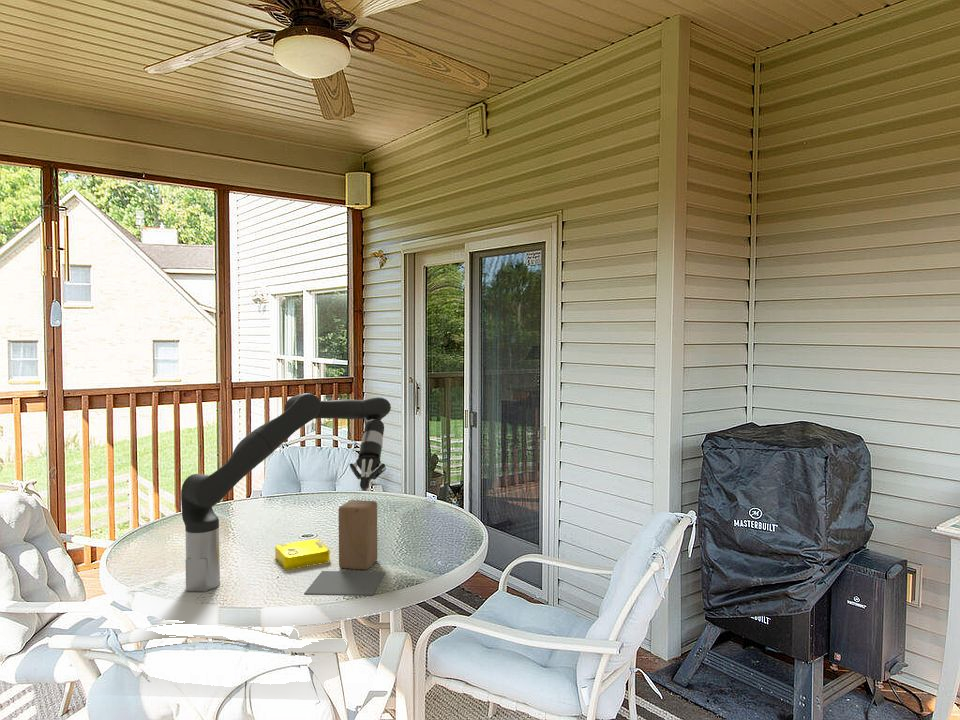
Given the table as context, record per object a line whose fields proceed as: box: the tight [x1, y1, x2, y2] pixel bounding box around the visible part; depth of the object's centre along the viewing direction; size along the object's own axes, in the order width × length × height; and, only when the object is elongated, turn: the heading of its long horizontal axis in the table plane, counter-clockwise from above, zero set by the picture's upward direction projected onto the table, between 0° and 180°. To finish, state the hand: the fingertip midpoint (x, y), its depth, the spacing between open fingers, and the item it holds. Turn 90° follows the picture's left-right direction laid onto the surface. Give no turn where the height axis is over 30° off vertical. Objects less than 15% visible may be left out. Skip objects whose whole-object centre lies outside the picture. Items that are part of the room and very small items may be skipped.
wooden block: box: [337, 499, 378, 571], centre depth 214 cm, size 10×10×20 cm
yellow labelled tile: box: [274, 538, 331, 570], centre depth 220 cm, size 15×15×5 cm
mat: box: [303, 570, 386, 596], centre depth 198 cm, size 18×20×1 cm
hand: (364, 488), depth 222 cm, fingers closed
